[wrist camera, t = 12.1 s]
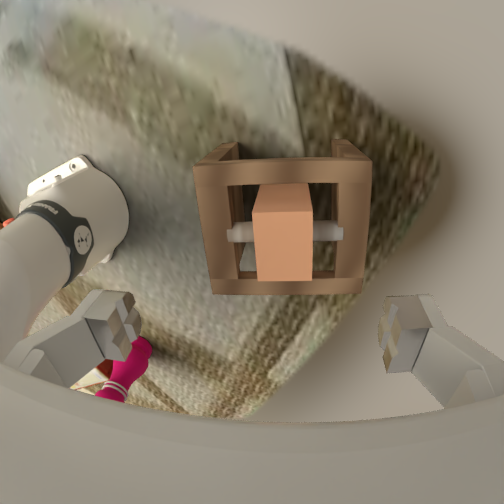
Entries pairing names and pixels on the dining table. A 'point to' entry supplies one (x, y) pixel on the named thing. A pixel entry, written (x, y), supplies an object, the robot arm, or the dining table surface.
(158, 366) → the dining table surface
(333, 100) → the dining table surface
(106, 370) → the snack package
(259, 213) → the tall peach block
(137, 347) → the pepper mill
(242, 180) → the stand
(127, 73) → the dining table surface
